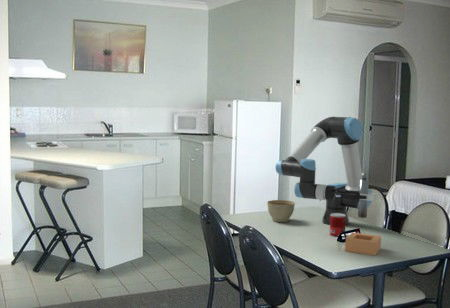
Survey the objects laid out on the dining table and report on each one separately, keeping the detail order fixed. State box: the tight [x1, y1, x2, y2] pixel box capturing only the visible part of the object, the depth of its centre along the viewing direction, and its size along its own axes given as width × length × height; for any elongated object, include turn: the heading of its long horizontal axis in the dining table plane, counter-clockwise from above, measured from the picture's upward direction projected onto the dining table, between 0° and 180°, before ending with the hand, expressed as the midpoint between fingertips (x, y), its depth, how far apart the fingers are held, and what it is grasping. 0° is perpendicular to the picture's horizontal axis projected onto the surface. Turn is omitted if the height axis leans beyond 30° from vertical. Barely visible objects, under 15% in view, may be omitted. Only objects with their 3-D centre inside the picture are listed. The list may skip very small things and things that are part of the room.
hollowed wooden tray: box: [344, 232, 382, 256], centre depth 258 cm, size 14×14×6 cm
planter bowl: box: [266, 199, 296, 223], centre depth 317 cm, size 16×16×11 cm
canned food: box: [329, 213, 346, 237], centre depth 286 cm, size 8×8×11 cm
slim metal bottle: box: [357, 172, 370, 219], centre depth 256 cm, size 4×4×21 cm
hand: (374, 197), depth 254 cm, fingers closed on slim metal bottle, 4 cm apart
